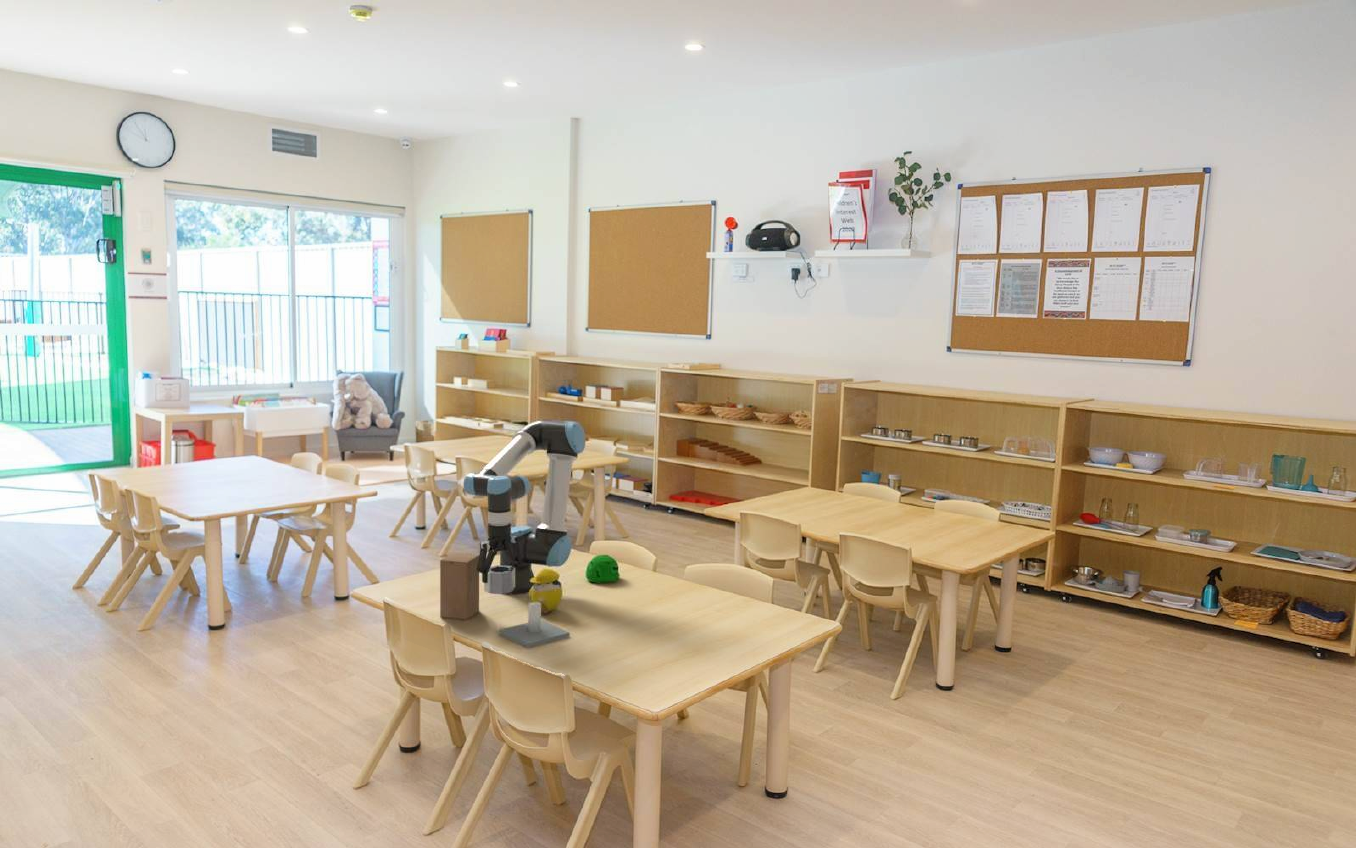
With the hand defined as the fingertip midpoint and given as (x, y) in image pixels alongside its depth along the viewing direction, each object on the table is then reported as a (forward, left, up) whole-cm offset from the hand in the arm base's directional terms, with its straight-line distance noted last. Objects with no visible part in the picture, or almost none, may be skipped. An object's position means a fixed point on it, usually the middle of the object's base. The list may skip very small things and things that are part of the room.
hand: (499, 588), depth 304 cm
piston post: (-1, +18, -11) cm, 22 cm away
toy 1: (-18, 0, -12) cm, 22 cm away
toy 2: (-57, -17, -12) cm, 61 cm away
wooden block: (+7, -15, -12) cm, 20 cm away
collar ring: (0, 0, 0) cm, 0 cm away
